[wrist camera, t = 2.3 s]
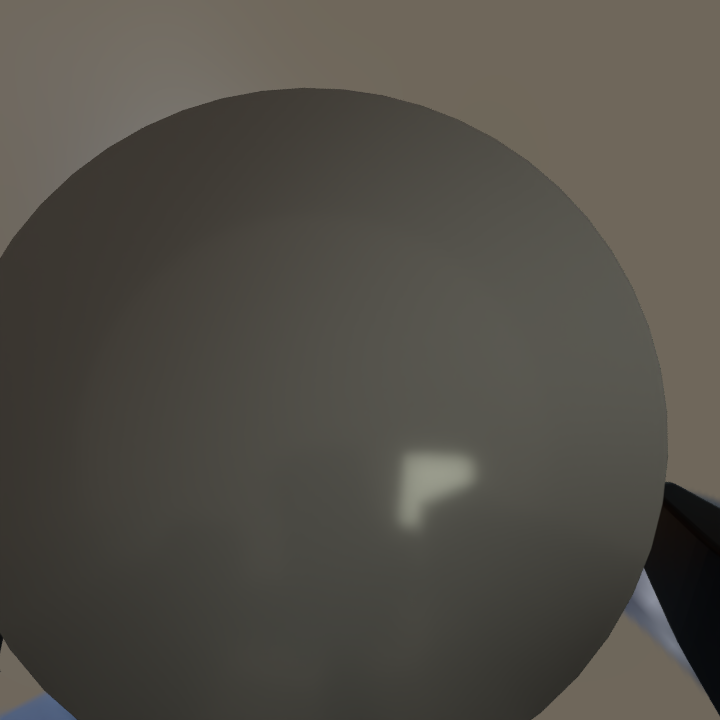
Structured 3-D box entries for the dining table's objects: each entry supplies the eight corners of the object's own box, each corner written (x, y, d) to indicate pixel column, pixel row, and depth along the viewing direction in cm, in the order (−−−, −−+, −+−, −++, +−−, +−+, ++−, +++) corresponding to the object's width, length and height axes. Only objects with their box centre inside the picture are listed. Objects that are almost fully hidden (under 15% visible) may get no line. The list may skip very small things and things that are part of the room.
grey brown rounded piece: (373, 657, 17) (517, 963, 5) (156, 546, 17) (-225, 563, 5) (468, 436, 18) (747, 250, 6) (270, 341, 19) (187, -3, 7)
